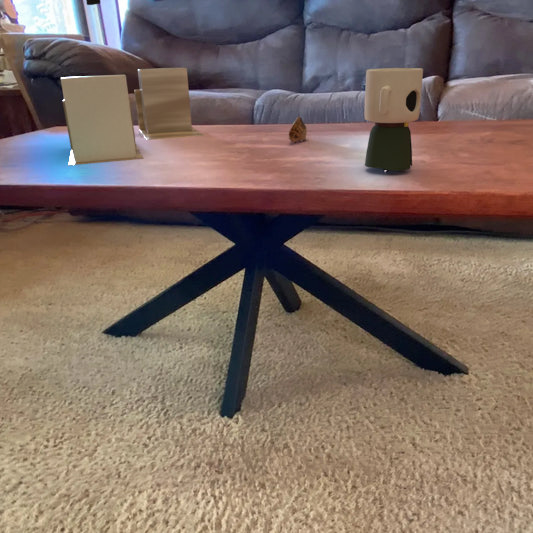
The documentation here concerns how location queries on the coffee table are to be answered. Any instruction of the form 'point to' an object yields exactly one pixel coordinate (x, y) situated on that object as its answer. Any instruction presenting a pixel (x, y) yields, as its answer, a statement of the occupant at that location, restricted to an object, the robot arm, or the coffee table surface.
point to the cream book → (99, 117)
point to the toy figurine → (391, 115)
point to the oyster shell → (298, 131)
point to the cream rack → (164, 104)
